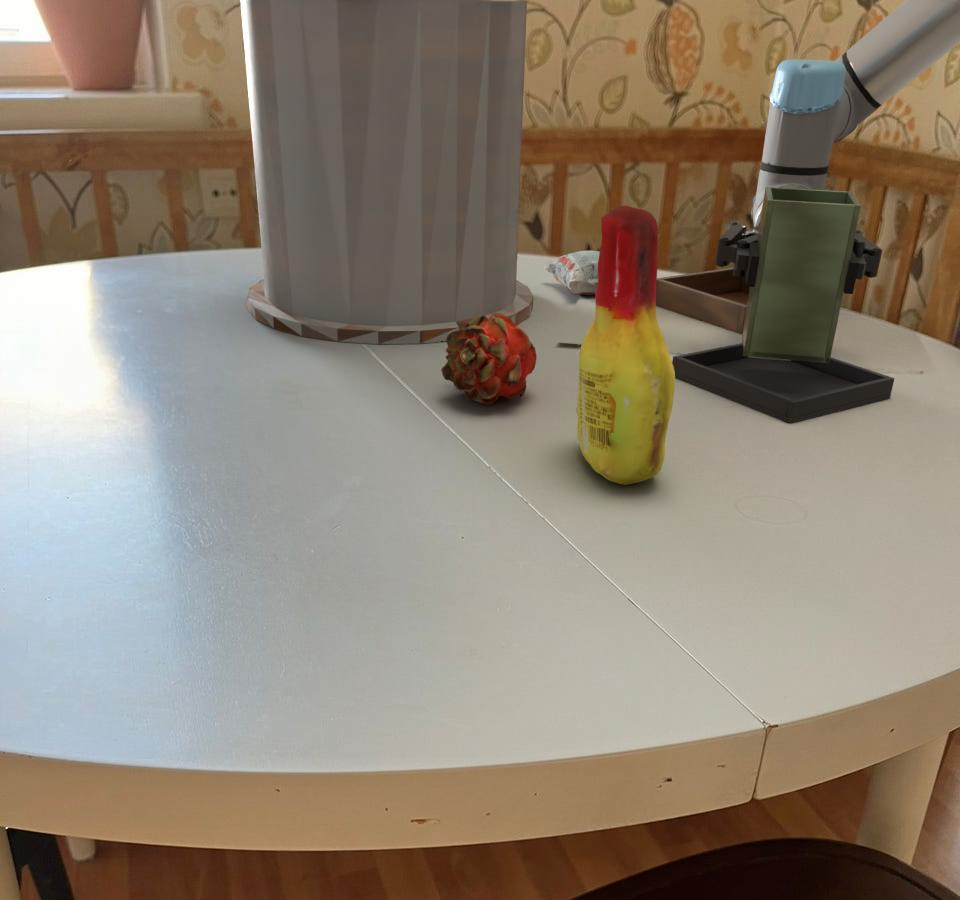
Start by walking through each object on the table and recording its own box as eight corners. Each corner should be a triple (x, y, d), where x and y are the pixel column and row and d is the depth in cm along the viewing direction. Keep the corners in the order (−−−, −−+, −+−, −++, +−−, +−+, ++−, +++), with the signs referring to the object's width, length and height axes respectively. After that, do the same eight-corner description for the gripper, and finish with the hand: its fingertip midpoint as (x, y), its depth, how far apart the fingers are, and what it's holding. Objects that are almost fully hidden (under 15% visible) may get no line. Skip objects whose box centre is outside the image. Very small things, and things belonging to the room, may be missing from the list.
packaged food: (567, 304, 131) (570, 263, 128) (543, 282, 141) (545, 244, 138) (633, 303, 133) (638, 263, 130) (604, 281, 142) (608, 243, 140)
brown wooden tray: (832, 321, 127) (838, 291, 125) (740, 339, 119) (745, 307, 117) (739, 293, 138) (743, 265, 136) (650, 308, 130) (653, 278, 128)
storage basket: (311, 360, 109) (287, -4, 92) (210, 286, 135) (178, -9, 118) (588, 322, 124) (612, 3, 107) (450, 262, 150) (452, -2, 133)
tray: (890, 398, 103) (895, 378, 102) (790, 423, 96) (794, 402, 95) (767, 355, 114) (770, 337, 113) (670, 375, 107) (672, 356, 106)
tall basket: (822, 340, 106) (852, 191, 98) (829, 363, 99) (861, 205, 92) (742, 333, 107) (765, 186, 100) (743, 356, 100) (767, 200, 93)
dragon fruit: (469, 436, 96) (488, 411, 107) (547, 386, 93) (559, 366, 104) (417, 355, 94) (441, 339, 104) (495, 301, 91) (512, 290, 102)
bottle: (555, 443, 90) (570, 195, 80) (625, 439, 92) (649, 193, 81) (599, 499, 80) (623, 224, 70) (677, 493, 82) (712, 222, 71)
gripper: (881, 271, 114) (911, 325, 95) (689, 258, 117) (680, 308, 98) (898, 197, 110) (932, 239, 91) (698, 186, 113) (691, 223, 94)
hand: (802, 275), depth 95 cm, fingers closed on tall basket, 8 cm apart
